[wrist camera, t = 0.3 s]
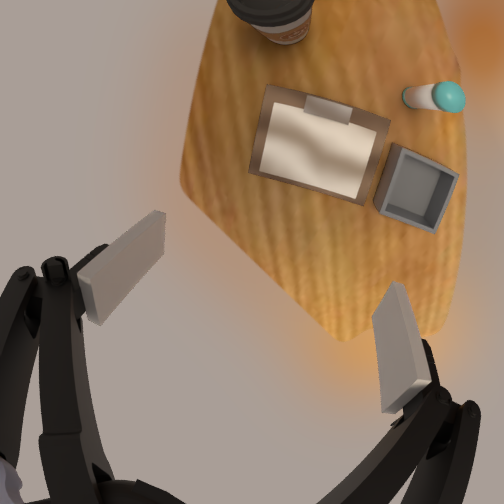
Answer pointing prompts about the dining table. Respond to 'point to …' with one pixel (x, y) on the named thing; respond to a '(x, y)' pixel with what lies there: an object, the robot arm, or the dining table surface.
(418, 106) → the marker
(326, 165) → the clipboard
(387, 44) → the dining table surface
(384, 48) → the dining table surface
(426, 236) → the dining table surface
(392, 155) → the grey open box
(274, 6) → the coffee cup
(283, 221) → the dining table surface
